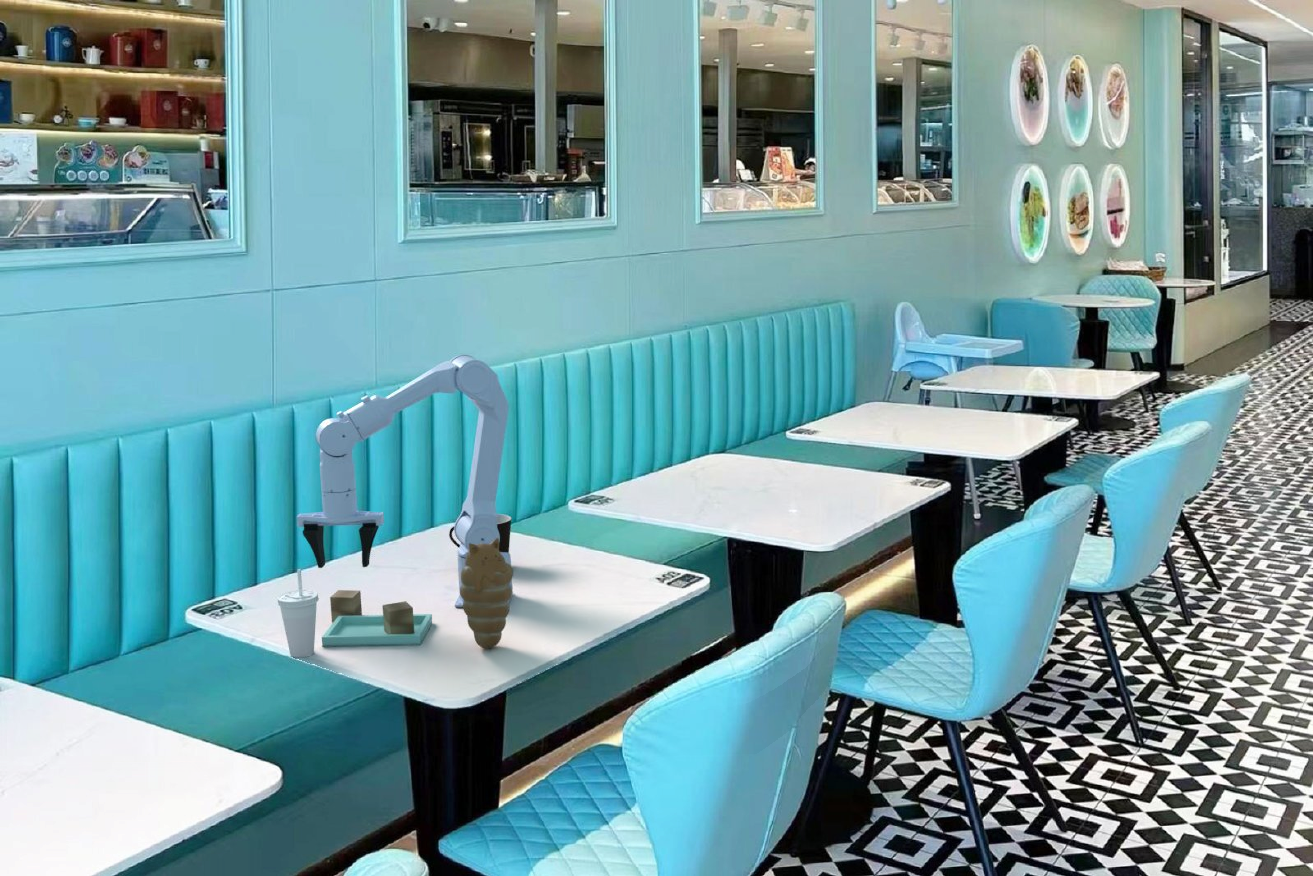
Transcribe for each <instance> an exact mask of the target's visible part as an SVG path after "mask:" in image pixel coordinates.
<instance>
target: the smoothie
mask: <svg viewBox="0 0 1313 876" xmlns="http://www.w3.org/2000/svg"><path fill="white" fill-rule="evenodd" d="M296 570H297V572H296V573H297V585H298V590H291V591H287V592H286V591H285V592H283V593H281V594H279V596H278V597H277V598H276V599H277V603H276V604H277V606H280V607H279V608H280V613H281V617H282V621H283V627H284V631H285V636H286V641H287V645H288V649H289V651H288V652H289V655H290V657H293V658H305V657H309V656H310V657H311V656H312V655H313V654H314V653H315V641H316V640H315V639H316V637H315V636H316V622H317V604H318V601H319V599H320V598H319V594H318V592H317V591H314V590H309V589H303V582H302V581H303V580H302V569H301V568H299V569H296Z"/></svg>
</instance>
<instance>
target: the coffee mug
mask: <svg viewBox="0 0 1313 876" xmlns="http://www.w3.org/2000/svg"><path fill="white" fill-rule="evenodd" d="M497 517H498V518H497V529H498V531H499V535H500V541H499V552H507V553H510V542H511V528H512V527H511V526H512V517H511V516H509V515H507V514H502V513H500V514H499V513H497ZM453 532H454V526H453V527H451V528H450V529H449V532H448V533H449V534H448V536H449V539H450V540H451V541H450V542H452V544H453V545H455V546H456V547H457V548H459V547H460V544H459V543H458V542H457V541H456V540H455V539H454V537H453Z"/></svg>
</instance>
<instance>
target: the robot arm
mask: <svg viewBox="0 0 1313 876" xmlns="http://www.w3.org/2000/svg"><path fill="white" fill-rule="evenodd" d="M498 377H499V376H498V374H497V373H496V372H495V371H494V370H493V368H491V367H490V366H489V365H488V364H487V363H486V362H484V361H482V360H479V359H476V358H475V357H474V356H472V355H469V354H460V355H459V354H458V355H456V356H454V357H453V358H451V360H446V361H443V362H441V363H439V364H438V365H436V366H434V367H432V368H431V369H429V370H428V371H426V372H424V373H422V374H421V375H420V376H418V377H415V378H414V379H413V380H411V381H410V382H408V383H406V384H405V385H403V386H402V387H400V388H398V389H397V390H396V391H394V392H392V393H391V394H389V395H387V396H381V395H375V394H374V395H372V396H369V395H365V396H363V397H361V398H360V401H361V402H359V403H358V404H357V405H355V406H353V407H351V408H350V409H349V408H348V410H346V411H344V412H343V411H342V410H340V411H338V412H337V413H336V417H337V418H336V417H334V418H332V417H330V418H327V419H325V420H323V421H322V422H321V423H320V424H319V425H318V427H317V429H316V434H315V435H314V438H315V442H316V443H317V445H318V446H319V447H320V448H319V460H320V463H319V475H320V476H319V477H320V490H321V491H320V492H321V502H322V511H320V512H319V511H318V512H317V511H316V512H308V513H307V512H306V513H305V512H304V513H299V514H298V515H297V516H296V527H297V528H303V530H302V531H301V532H302V535H303V538H305V540H306V541H307V542H308V544H309V547H310V548H311V550H312V552H313V555H314V558H315V561H316V564H317V568H318V569H322V568H323V567H324V566H326V556H325V555H326V554H325V547H324V544H325V543H324V533H325V530H324V529H325V527H326V526H327V527H328V526H331V527H334V526H361V527H360V528H359V529H358V533H359V534H358V535H359V538H360V546H361V547H360V548H361V564H362V565H361V566H362V568H367V567H368V566H369V565H370V557H371V552H372V551H371V550H372V547H373V543H374V540H375V537H376V535H377V532H378V529H379V528H380V526H381V527H382V526H383V525H384V524H385V516H384V514H385V513H384V511H365V510H358V505H357V489H356V488H357V487H356V475H355V474H356V473H355V462H354V459H353V449H354V448H355V445H356V444H357V443H361V442H362V441H364V440H366V439H368V438H370V437H371V436H373V435H375V434H378V432H380V431H382V430H384V429H386V428H388V427H389V426H391V425H392V424H393V422H394V418H395V415H396V414H397V413H399V412H401V411H403V410H405V409H408V408H409V407H411V406H413V405H414V404H417V403H418V402H421V401H423V400H424V399H426V398H429V397H430V396H432V395H434V394H437V393H438V394H439V393H442V394H457V391H456V390H458V391H459V392H461V393H462V394H463V395H466V396H467V398H468V399H469V401H471V403H472V404H473V405H474V406H475V407H476V408H477V410H478V415H477V416H478V417H477V423H476V432H475V441H474V445H473V452H472V460H471V467H470V468H471V469H470V475H469V480H468V488H467V494H466V495H467V496H466V499H465V500H464V501H463V503H462V506H461V507H462V508H461V512H460V515H459V516H458V517H457V519H456V520H455V522H454V526H453V527H454V530H453V532H454V536H455V537H456V539H457V540H458V542H460V544H459V545H460V547H458V549H457V551H456V552H457V553H456V554H457V569H458V570H457V572H458V587H459V588H458V589H459V592H458V593H459V594H458V597H457V599H456V601H455V603H454V607H455V608H463V601H464V600H463V598H462V597H461V595H460V587H461V585H462V582H461V572H462V570H463V568H464V567H465V560H466V556H467V553H468V552H469V543H471V544H475V545H477V544H483V543H485V544H490V543H491V542H492V541H494V540H495V539H496V538H498V539H499V541H500V535H499V531H498V529H497V518H498V517H497V514H498V511H497V506H496V500H497V492H498V485H499V478H500V471H501V465H502V457H503V451H504V450H503V449H504V444H505V438H506V430H507V422H508V416H509V407H510V406H509V405H510V404H509V402H508V399H507V397H506V395H505V392H504V390H503V388H502V386H501V383H500V381H499V378H498ZM500 553H501V554H502V556H503V557H504V559H505V562H506V563H508V564H510V565H511V566H512V559H511V557H512V556H511V554H510V552H509V553H507V552H500ZM512 580H513V579H512ZM512 580H511V582H510V586H511V588H512V595H511V597H510V599H509V600H508V604H509V605H510V601H511V599H512V596H513V593H514V592H513V586H514V585H513V581H512Z"/></svg>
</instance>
